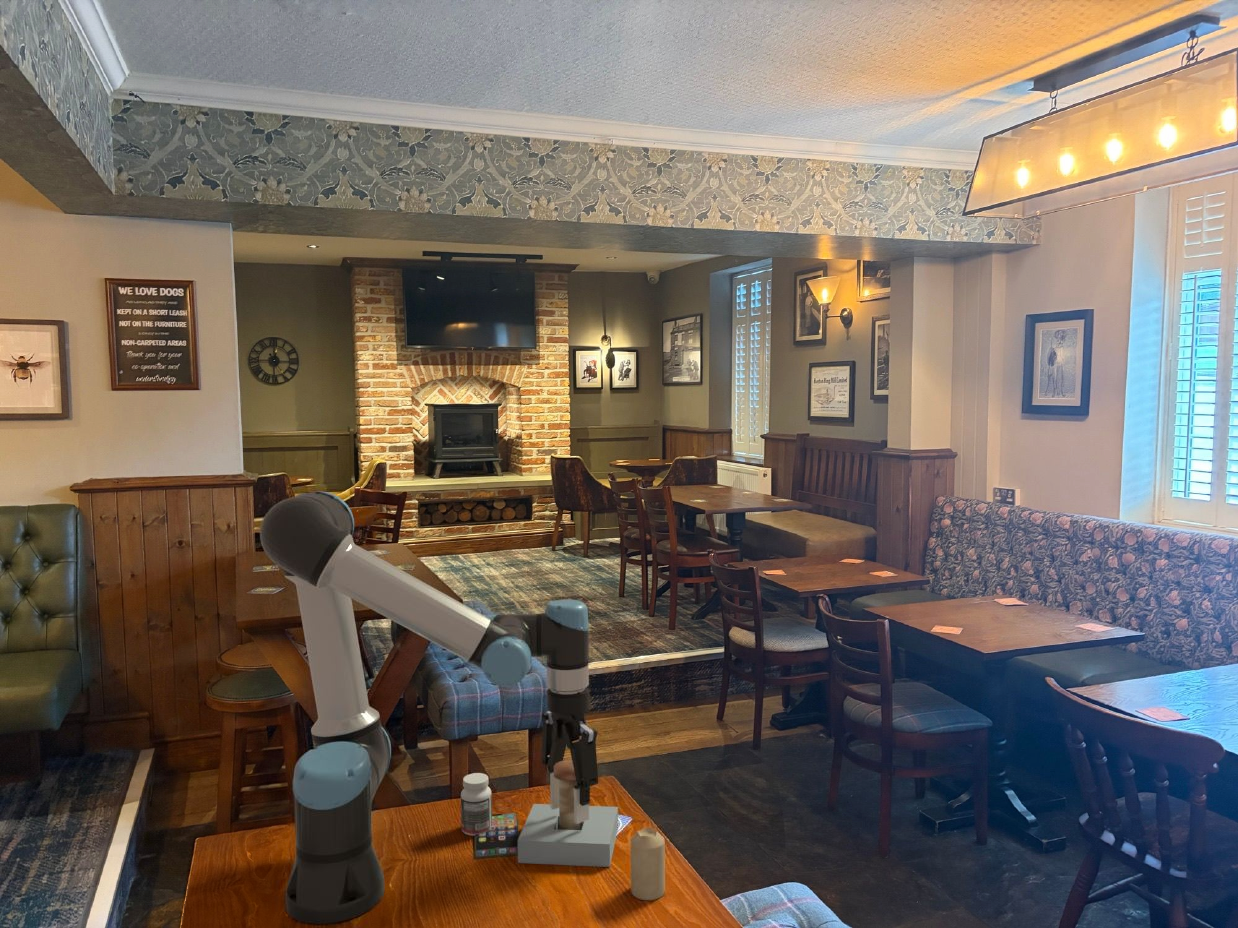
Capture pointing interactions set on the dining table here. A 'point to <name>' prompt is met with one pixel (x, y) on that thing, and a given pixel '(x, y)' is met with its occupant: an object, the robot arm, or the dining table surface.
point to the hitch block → (568, 838)
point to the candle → (647, 864)
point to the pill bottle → (476, 804)
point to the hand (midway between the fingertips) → (569, 813)
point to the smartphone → (499, 837)
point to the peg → (566, 794)
